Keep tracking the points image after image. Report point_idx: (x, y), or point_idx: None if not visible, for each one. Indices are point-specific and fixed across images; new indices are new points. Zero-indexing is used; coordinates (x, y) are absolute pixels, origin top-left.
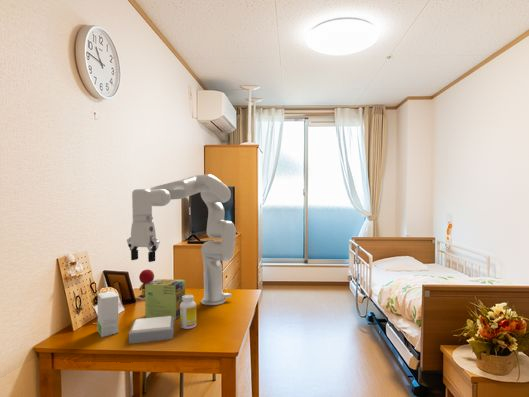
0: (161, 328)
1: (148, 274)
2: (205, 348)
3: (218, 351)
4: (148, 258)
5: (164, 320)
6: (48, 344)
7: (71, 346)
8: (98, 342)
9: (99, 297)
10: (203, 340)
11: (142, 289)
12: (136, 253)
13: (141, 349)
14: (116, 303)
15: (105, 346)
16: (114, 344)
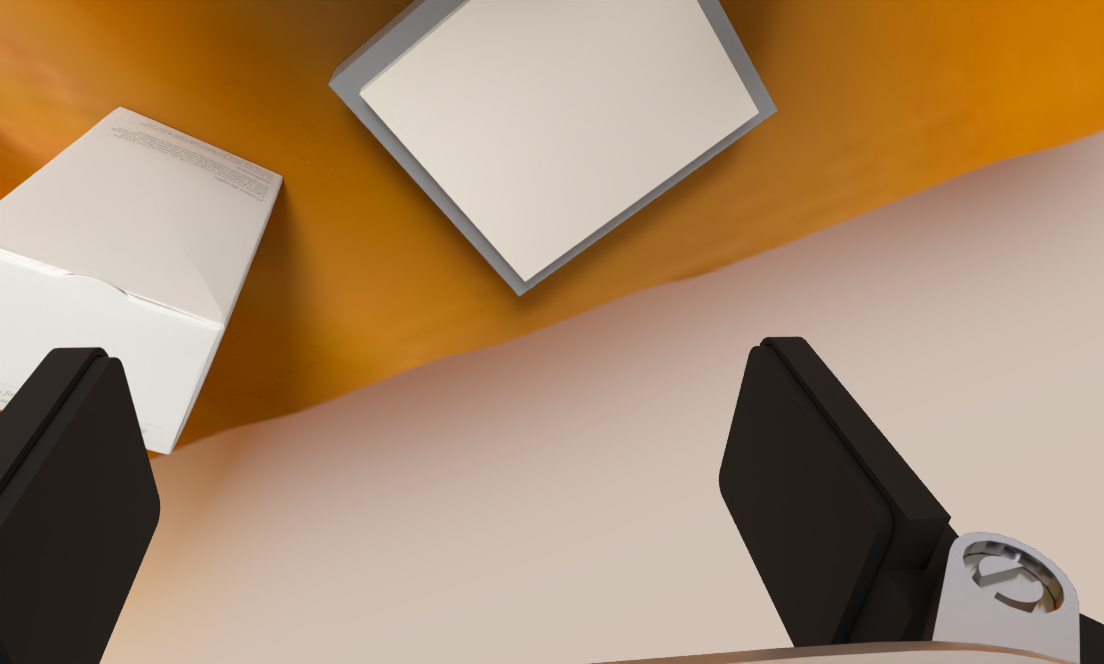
0: (697, 150)
1: None
2: (1015, 128)
3: (1100, 130)
4: (754, 548)
5: (635, 17)
6: None
7: (212, 421)
8: (308, 329)
9: None
10: (974, 29)
11: None
12: (59, 534)
13: (643, 287)
14: (235, 302)
15: (405, 345)
16: (432, 307)
